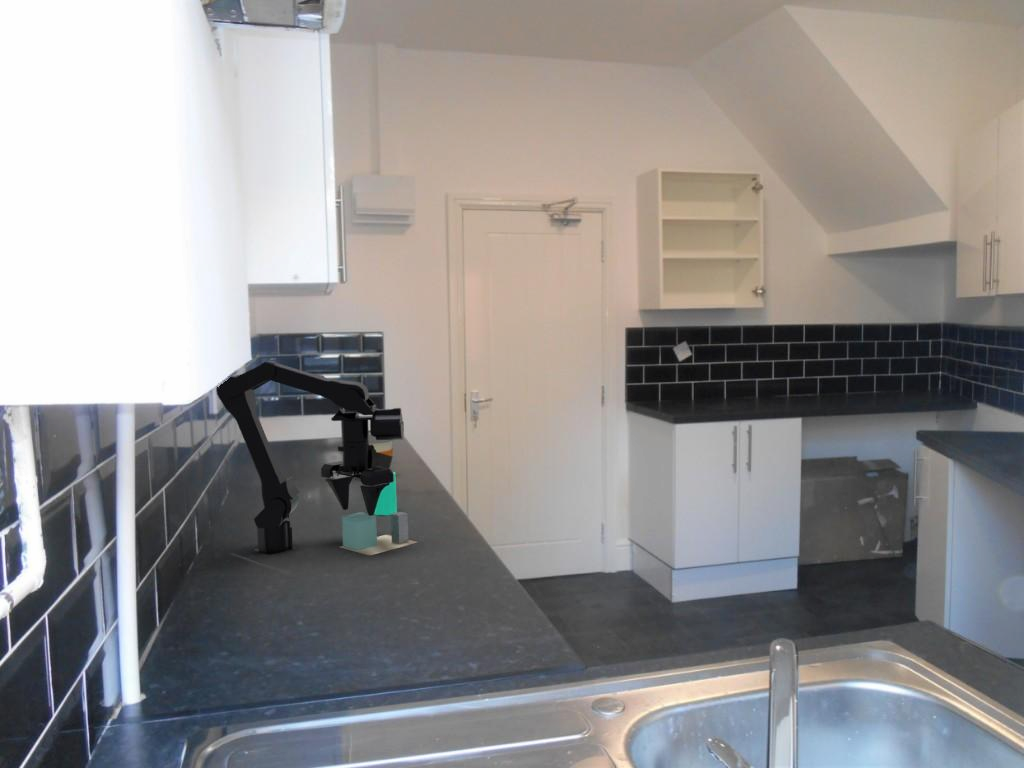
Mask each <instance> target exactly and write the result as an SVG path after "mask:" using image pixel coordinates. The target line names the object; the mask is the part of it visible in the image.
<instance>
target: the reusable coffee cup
mask: <svg viewBox="0 0 1024 768" xmlns="http://www.w3.org/2000/svg"><path fill="white" fill-rule="evenodd" d="M393 441H394V440H376V437H373V436H371V432H370V429H369V444H371V445H373V446H374V449H376V452H378V453H382V454H385V455H389V456H392V457H393V454H394V453H393V452H394V449H393ZM392 463H393V460H392V461H391V464H392ZM360 474H361V473H360Z"/></svg>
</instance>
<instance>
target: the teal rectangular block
mask: <svg viewBox="0 0 1024 768" xmlns="http://www.w3.org/2000/svg"><path fill="white" fill-rule="evenodd" d="M341 528H342V529H341V530H342V533H341V534H342V546H343V547H346V548H350V549H354V550H357V551H358V550H361V549H365V548H369V547H373V546H376V545H377V537H378V534H377V533H378V532H377V515H372V516H369V515H368V512H362V511H359V512H356V513H355V512H354V513H351V514H347V515H346V514H345V515H343V516H341Z"/></svg>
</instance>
